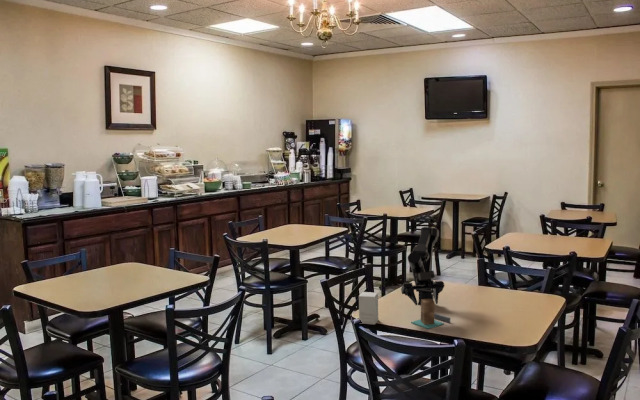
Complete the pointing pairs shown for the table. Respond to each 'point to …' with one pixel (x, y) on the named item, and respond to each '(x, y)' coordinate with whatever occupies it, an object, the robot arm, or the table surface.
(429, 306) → the walnut pillar
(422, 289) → the robot arm
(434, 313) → the low wall
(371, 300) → the supplement box
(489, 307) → the table surface
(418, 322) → the mat
